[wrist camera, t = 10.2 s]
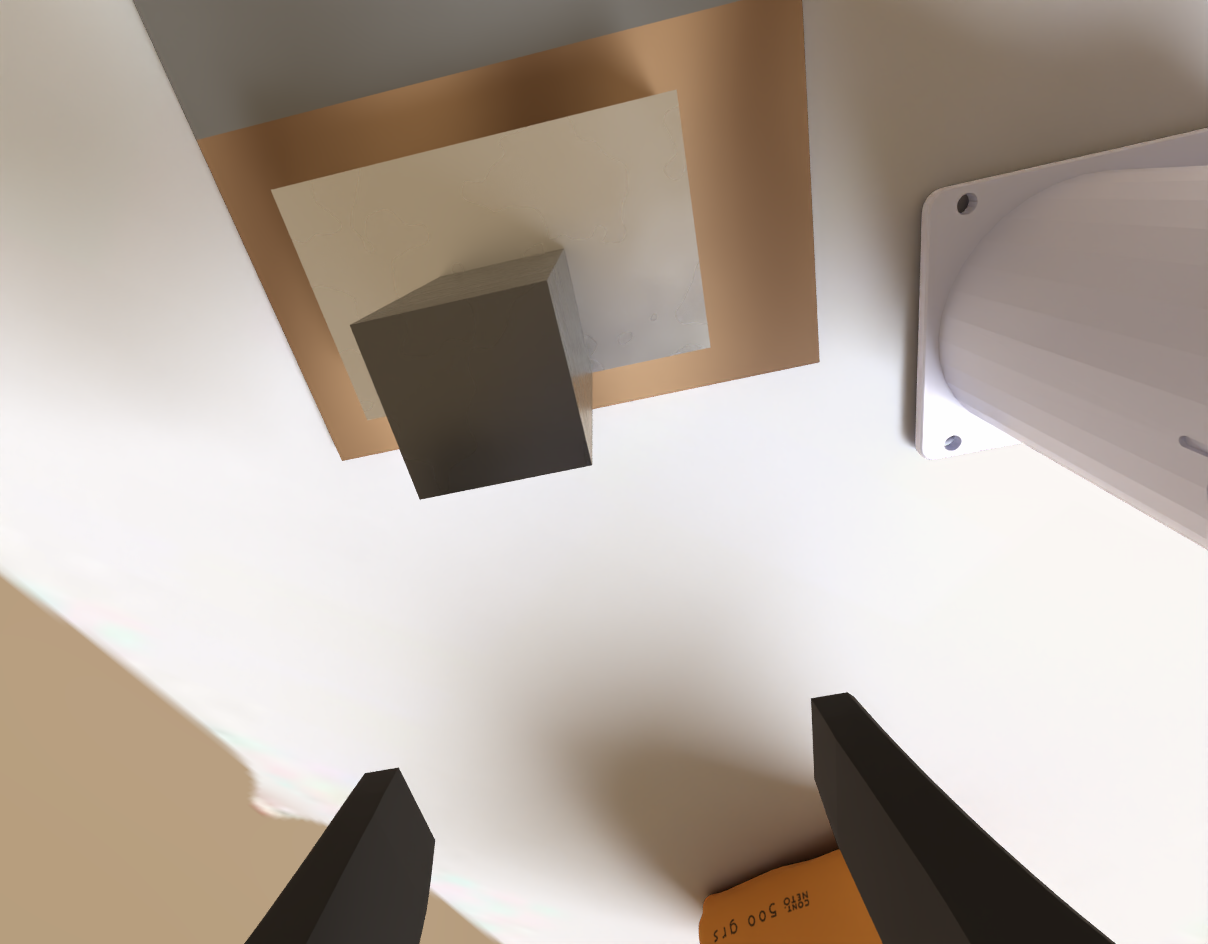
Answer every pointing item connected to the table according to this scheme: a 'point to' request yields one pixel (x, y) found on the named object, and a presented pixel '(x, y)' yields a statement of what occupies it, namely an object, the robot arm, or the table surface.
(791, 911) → the coffee package
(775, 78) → the board
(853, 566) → the table surface
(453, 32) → the rubber mat
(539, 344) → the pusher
